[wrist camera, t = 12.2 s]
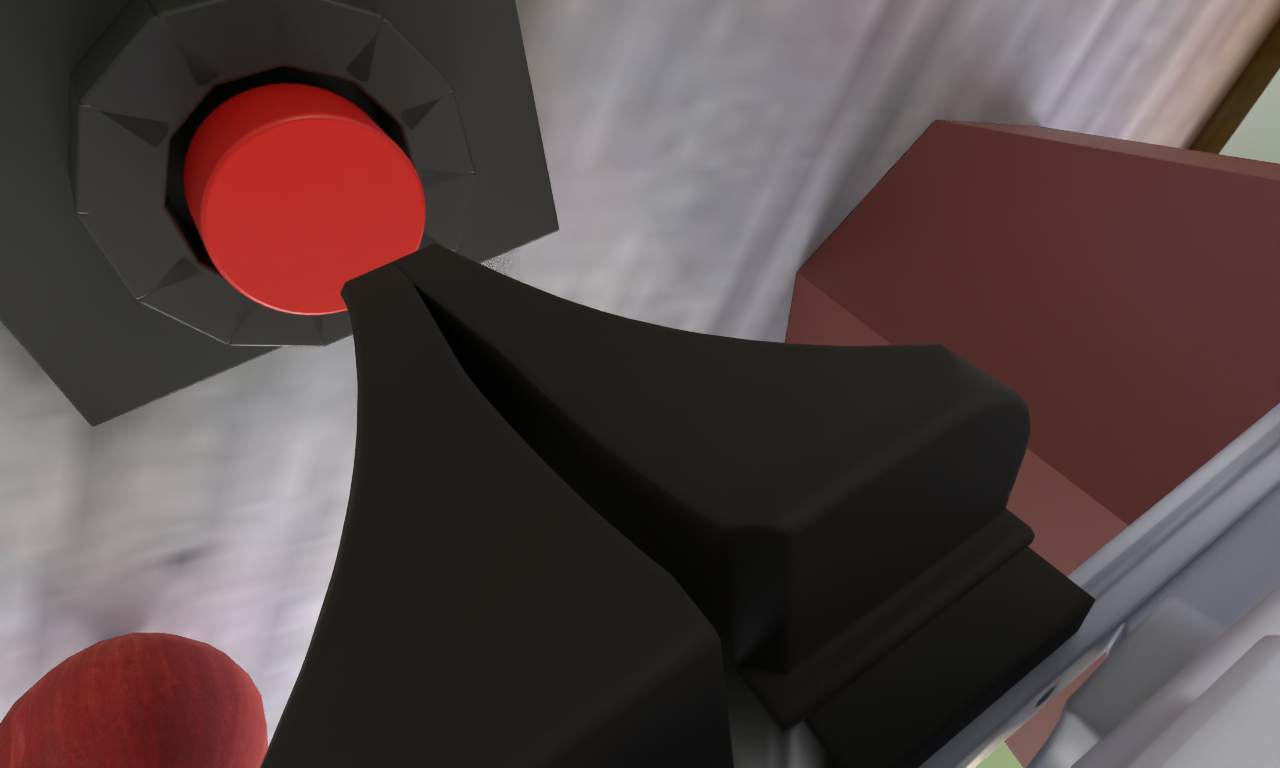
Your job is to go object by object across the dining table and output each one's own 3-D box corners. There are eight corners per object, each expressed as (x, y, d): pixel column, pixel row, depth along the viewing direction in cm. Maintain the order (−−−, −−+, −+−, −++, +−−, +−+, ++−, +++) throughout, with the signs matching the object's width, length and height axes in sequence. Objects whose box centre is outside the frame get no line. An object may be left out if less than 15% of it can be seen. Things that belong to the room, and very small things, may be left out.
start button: (356, 55, 13) (390, 83, 12) (417, 231, 16) (450, 269, 15) (137, 120, 12) (153, 160, 11) (240, 301, 15) (262, 349, 14)
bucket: (1100, -135, 26) (2954, 86, 10) (1121, 230, 43) (1807, 531, 27) (609, 409, 27) (1510, 1389, 11) (817, 553, 44) (1294, 1024, 28)
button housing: (449, -156, 15) (529, -137, 13) (528, 203, 21) (594, 260, 18) (-235, -11, 11) (-288, 52, 9) (84, 381, 17) (99, 480, 15)
